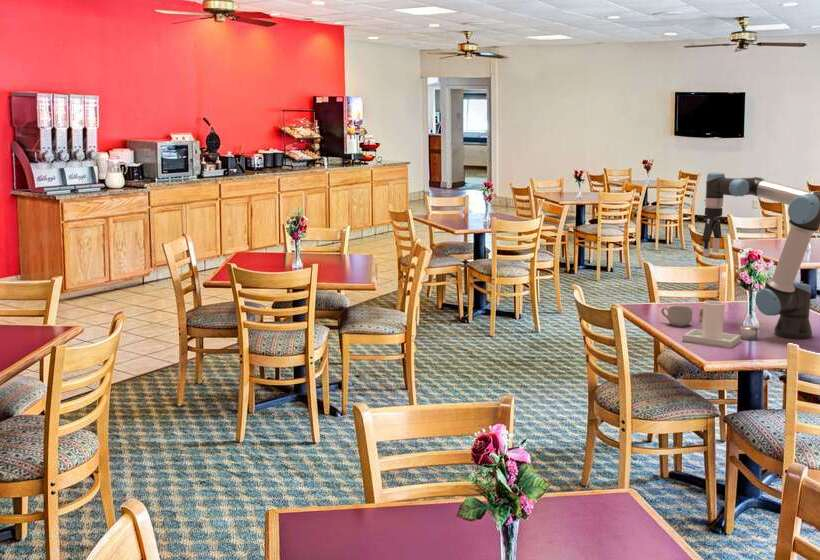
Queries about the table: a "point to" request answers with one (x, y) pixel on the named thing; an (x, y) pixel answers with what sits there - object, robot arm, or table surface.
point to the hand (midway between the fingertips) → (710, 254)
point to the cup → (712, 319)
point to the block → (701, 314)
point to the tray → (696, 338)
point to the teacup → (678, 315)
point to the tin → (748, 332)
